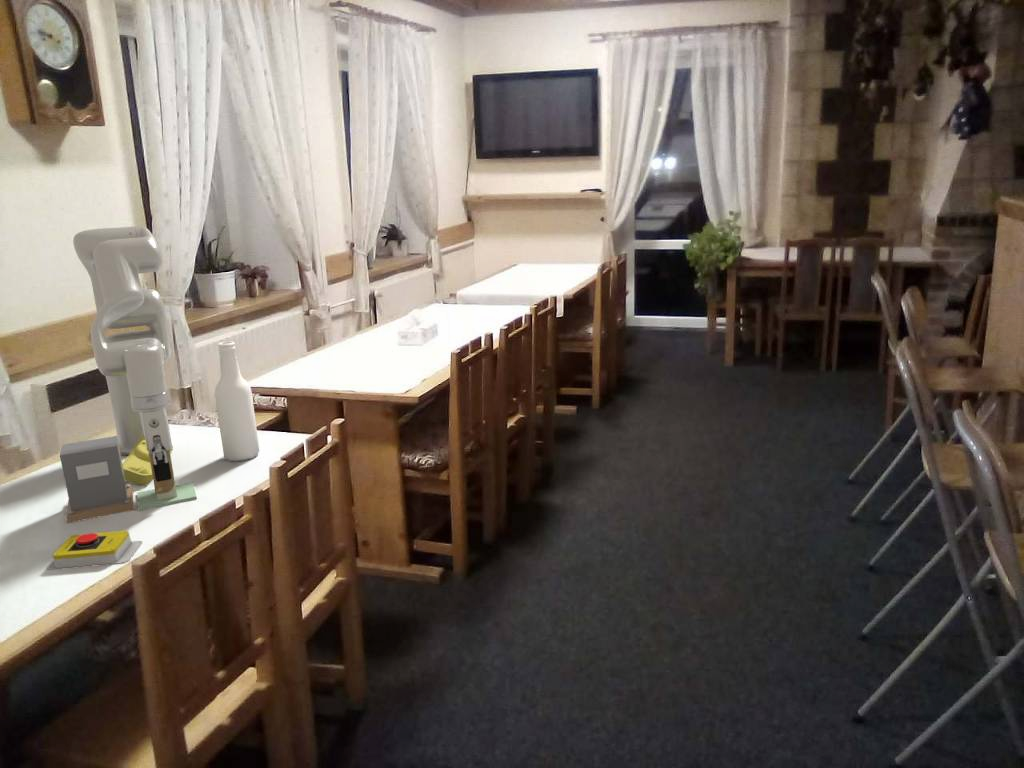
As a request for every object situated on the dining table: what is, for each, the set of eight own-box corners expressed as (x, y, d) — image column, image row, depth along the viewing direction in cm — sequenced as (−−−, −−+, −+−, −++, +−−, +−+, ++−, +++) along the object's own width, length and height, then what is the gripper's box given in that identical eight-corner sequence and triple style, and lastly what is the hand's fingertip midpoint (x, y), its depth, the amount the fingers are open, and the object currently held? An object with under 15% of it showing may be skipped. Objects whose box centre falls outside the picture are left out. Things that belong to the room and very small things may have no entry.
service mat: (137, 494, 183) (137, 492, 183) (193, 484, 188) (192, 481, 188) (138, 510, 175) (138, 507, 174) (196, 498, 179) (196, 496, 179)
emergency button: (62, 530, 157) (140, 523, 159) (66, 550, 158) (144, 543, 160) (40, 551, 148) (124, 544, 150) (45, 572, 149) (128, 565, 151)
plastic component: (149, 477, 187) (106, 463, 186) (141, 503, 190) (99, 489, 188) (178, 443, 206) (140, 430, 204) (171, 467, 208) (133, 454, 207)
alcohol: (265, 450, 209) (250, 338, 201) (250, 462, 201) (234, 346, 193) (234, 450, 211) (218, 339, 203) (218, 462, 202) (200, 347, 194)
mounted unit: (70, 503, 180) (57, 442, 176) (132, 491, 186) (122, 432, 182) (67, 523, 170) (53, 459, 166) (133, 509, 175) (122, 447, 171)
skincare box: (155, 491, 183) (146, 441, 180) (175, 487, 185) (167, 438, 182) (156, 501, 177) (147, 449, 174) (177, 497, 179) (169, 446, 176)
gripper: (170, 407, 169) (183, 482, 174) (166, 389, 184) (178, 458, 189) (132, 413, 166) (145, 489, 171) (131, 394, 181) (143, 464, 186)
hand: (162, 473), depth 180 cm, fingers open, 9 cm apart
